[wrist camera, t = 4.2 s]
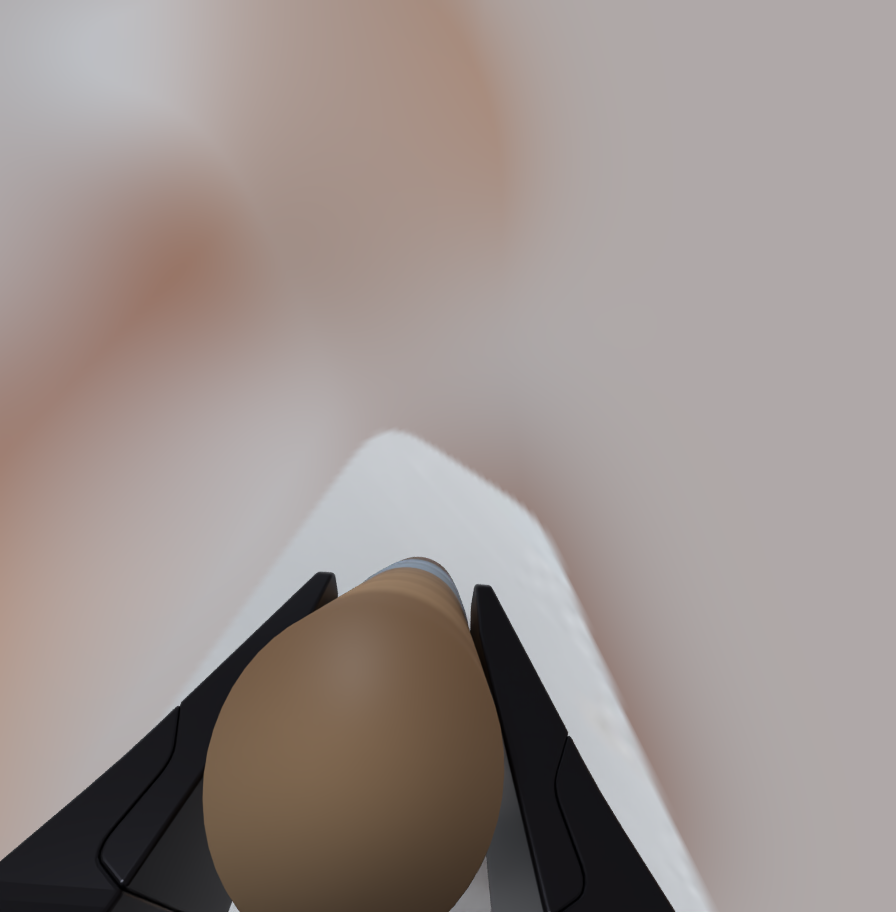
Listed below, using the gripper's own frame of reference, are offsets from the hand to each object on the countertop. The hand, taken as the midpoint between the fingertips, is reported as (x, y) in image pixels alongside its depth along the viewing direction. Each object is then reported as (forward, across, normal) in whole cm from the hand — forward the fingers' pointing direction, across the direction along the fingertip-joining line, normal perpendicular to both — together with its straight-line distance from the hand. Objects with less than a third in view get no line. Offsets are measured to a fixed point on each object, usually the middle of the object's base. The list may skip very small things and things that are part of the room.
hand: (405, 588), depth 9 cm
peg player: (+4, 0, +6) cm, 7 cm away
